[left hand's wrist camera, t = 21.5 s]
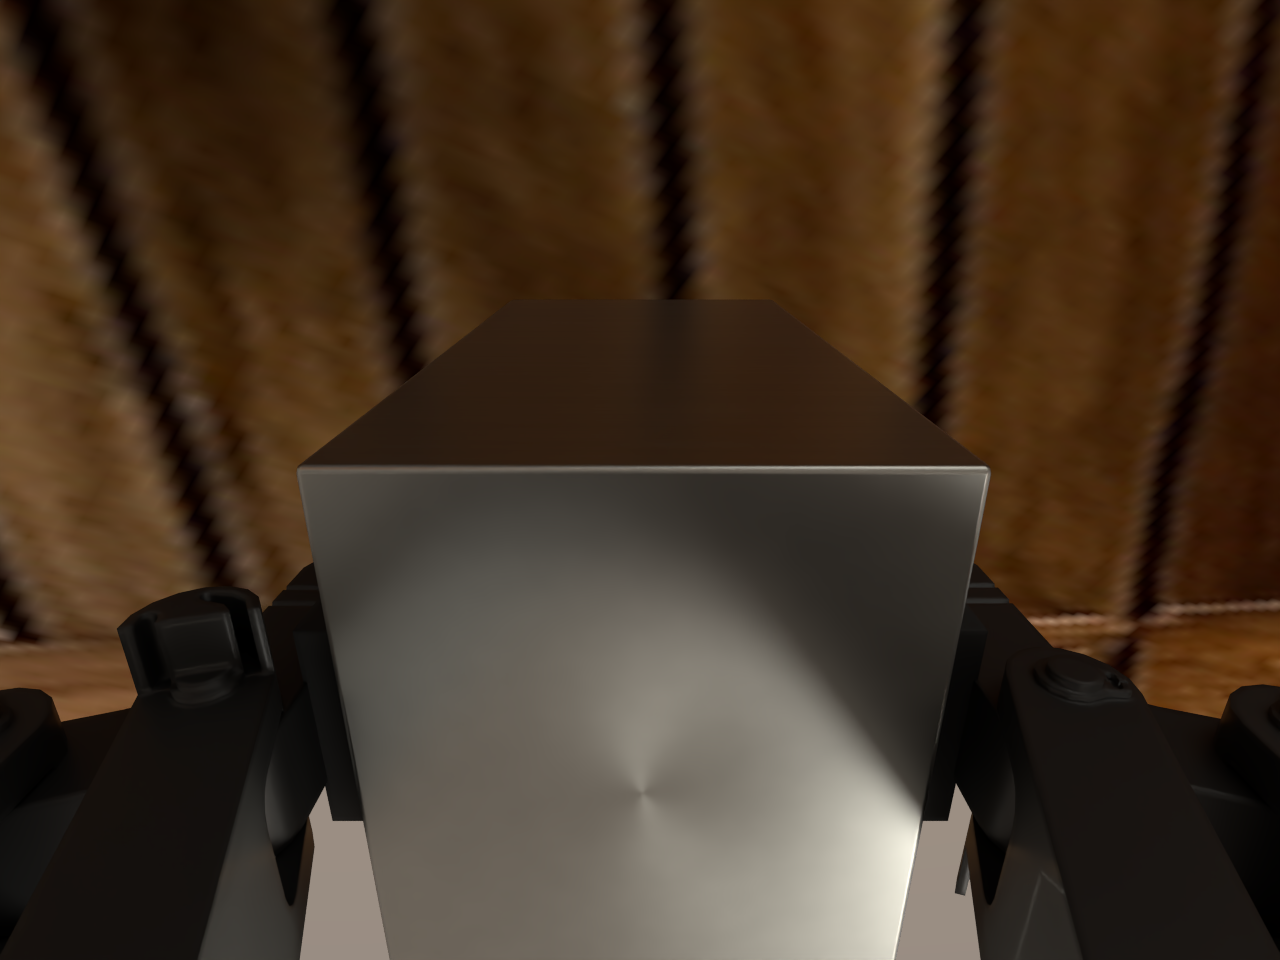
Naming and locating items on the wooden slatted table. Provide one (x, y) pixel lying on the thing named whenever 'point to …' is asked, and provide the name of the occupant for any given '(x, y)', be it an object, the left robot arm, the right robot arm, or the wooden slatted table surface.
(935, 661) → the grey boxy piece
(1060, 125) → the wooden slatted table surface
